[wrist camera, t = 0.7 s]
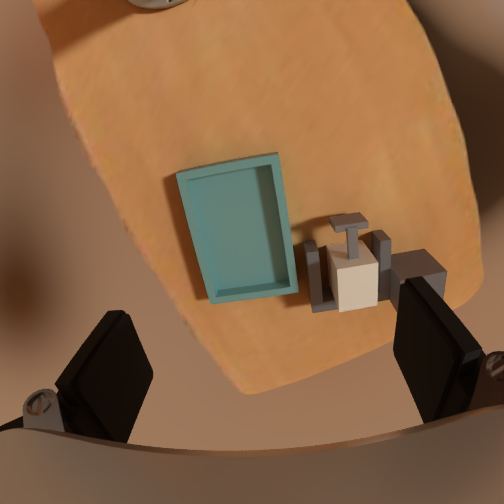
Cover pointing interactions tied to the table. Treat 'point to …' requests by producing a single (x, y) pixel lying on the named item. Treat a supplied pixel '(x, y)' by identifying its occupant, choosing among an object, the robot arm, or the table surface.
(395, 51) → the table surface
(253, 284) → the tray
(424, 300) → the robot arm
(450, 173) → the table surface
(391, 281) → the bay
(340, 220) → the t-handle cube
